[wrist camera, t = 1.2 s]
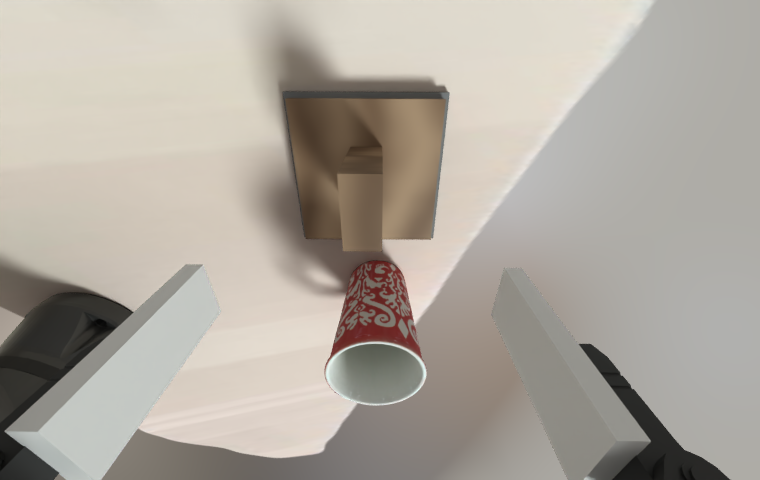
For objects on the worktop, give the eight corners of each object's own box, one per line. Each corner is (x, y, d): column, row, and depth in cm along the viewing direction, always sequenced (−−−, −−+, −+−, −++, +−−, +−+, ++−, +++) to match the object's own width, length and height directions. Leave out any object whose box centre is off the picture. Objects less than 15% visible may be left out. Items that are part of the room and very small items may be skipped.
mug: (366, 240, 33) (358, 326, 21) (425, 274, 35) (447, 368, 24) (317, 305, 38) (289, 404, 26) (372, 331, 41) (368, 431, 29)
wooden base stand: (308, 233, 32) (280, 291, 23) (289, 97, 25) (238, 106, 16) (428, 234, 32) (447, 292, 23) (443, 98, 25) (477, 107, 16)
